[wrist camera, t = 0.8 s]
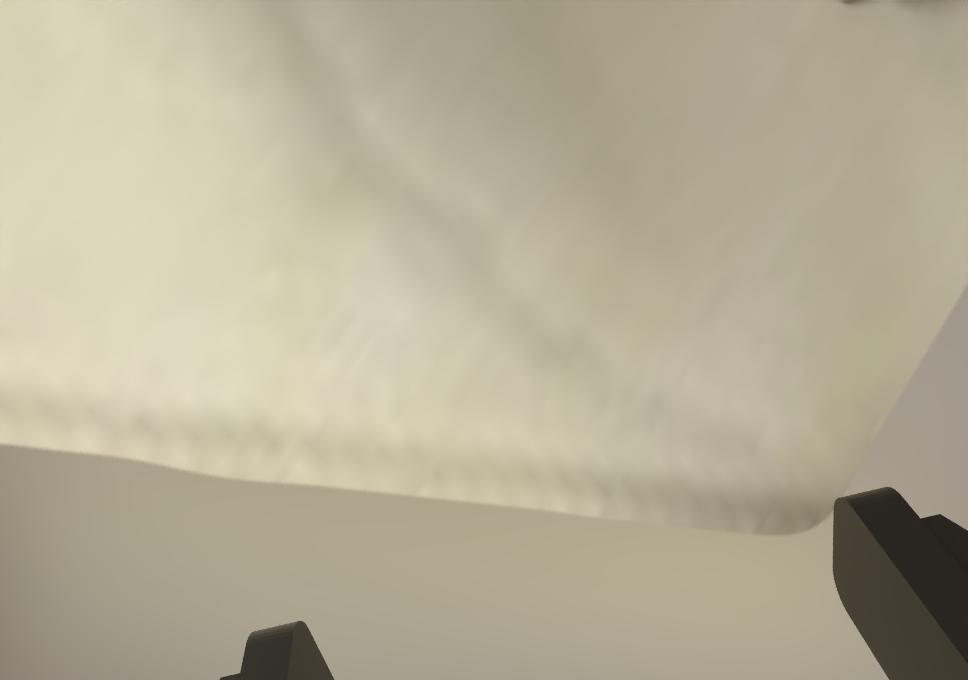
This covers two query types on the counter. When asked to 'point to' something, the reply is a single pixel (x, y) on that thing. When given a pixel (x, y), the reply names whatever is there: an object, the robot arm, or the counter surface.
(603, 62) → the counter surface
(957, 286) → the counter surface
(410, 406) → the counter surface
